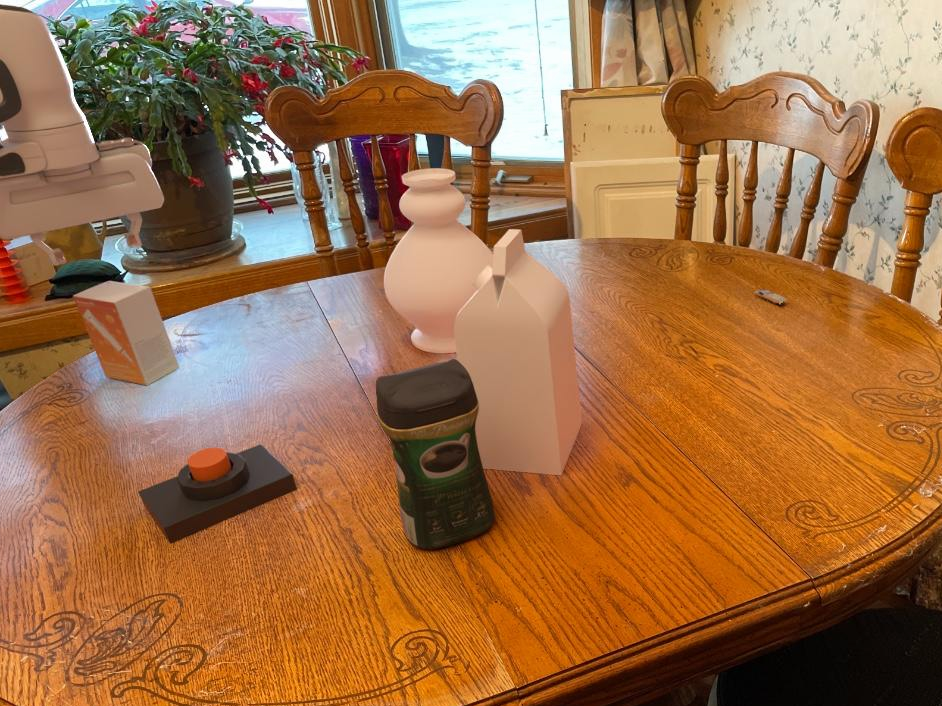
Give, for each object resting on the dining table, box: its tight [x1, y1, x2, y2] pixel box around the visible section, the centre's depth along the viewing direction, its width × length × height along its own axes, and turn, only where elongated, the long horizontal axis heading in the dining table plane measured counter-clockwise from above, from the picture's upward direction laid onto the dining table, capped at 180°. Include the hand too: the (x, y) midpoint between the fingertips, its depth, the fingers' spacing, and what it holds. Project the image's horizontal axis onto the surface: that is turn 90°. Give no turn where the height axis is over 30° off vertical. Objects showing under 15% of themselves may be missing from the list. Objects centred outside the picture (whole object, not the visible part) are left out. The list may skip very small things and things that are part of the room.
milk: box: [454, 228, 583, 476], centre depth 89 cm, size 12×12×26 cm
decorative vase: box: [383, 167, 493, 354], centre depth 117 cm, size 18×18×25 cm
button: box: [187, 447, 231, 482], centre depth 86 cm, size 4×4×2 cm
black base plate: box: [138, 443, 297, 544], centre depth 88 cm, size 14×9×4 cm, turn 132°
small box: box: [72, 280, 180, 387], centre depth 112 cm, size 8×6×13 cm
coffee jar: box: [375, 358, 496, 551], centre depth 78 cm, size 10×8×19 cm
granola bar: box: [753, 288, 788, 305], centre depth 133 cm, size 7×2×1 cm, turn 33°
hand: (98, 254), depth 106 cm, fingers open, 8 cm apart
